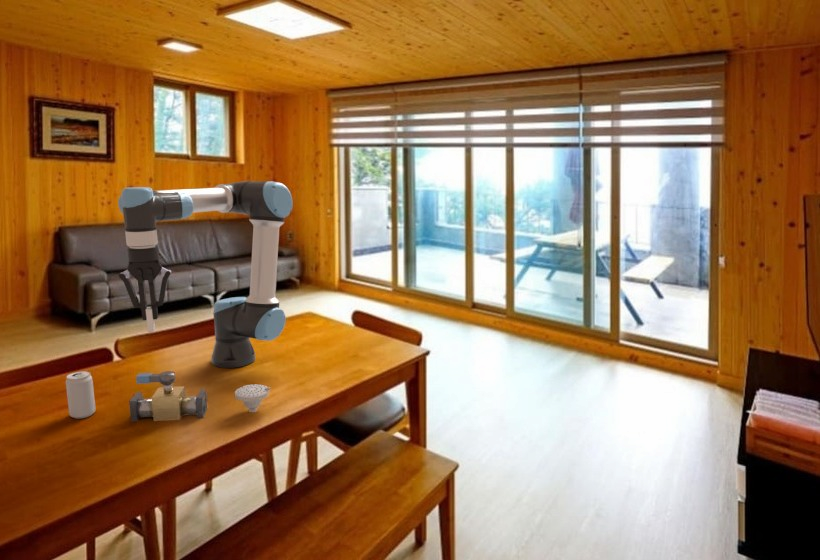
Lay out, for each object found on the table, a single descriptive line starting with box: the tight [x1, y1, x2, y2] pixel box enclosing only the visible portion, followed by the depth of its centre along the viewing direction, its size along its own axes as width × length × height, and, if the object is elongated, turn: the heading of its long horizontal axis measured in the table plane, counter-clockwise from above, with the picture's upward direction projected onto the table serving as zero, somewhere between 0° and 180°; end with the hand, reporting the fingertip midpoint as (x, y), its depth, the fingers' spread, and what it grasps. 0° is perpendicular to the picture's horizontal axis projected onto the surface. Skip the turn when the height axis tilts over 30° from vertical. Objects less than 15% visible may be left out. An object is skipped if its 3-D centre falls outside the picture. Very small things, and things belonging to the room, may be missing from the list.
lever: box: [135, 370, 176, 385], centre depth 154 cm, size 10×4×2 cm, turn 96°
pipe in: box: [180, 388, 208, 419], centre depth 157 cm, size 6×6×6 cm
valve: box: [151, 383, 186, 422], centre depth 155 cm, size 7×7×10 cm
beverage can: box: [65, 371, 97, 420], centre depth 154 cm, size 6×6×12 cm
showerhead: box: [234, 383, 271, 413], centre depth 159 cm, size 9×7×10 cm
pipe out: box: [128, 391, 153, 423], centre depth 154 cm, size 6×6×6 cm
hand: (151, 330), depth 152 cm, fingers closed
